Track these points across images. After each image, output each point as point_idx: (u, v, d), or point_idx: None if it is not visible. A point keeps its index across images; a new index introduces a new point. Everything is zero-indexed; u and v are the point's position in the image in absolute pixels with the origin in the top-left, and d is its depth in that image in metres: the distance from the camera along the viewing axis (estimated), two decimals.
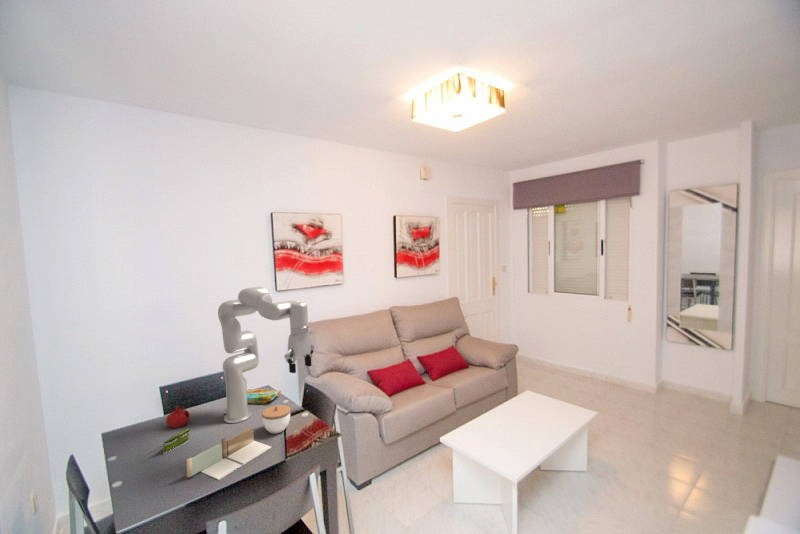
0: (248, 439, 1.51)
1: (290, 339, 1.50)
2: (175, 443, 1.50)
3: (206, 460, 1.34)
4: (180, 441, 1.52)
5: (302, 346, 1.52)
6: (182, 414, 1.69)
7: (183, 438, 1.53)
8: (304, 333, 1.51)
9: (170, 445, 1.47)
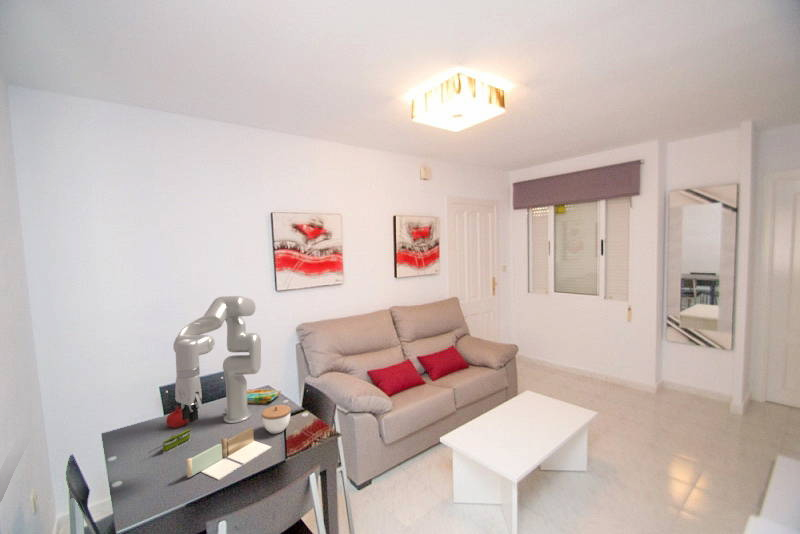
0: (248, 439, 1.51)
1: (193, 382, 1.31)
2: (175, 443, 1.50)
3: (206, 460, 1.34)
4: (180, 441, 1.52)
5: None
6: None
7: (183, 438, 1.53)
8: None
9: (170, 445, 1.48)
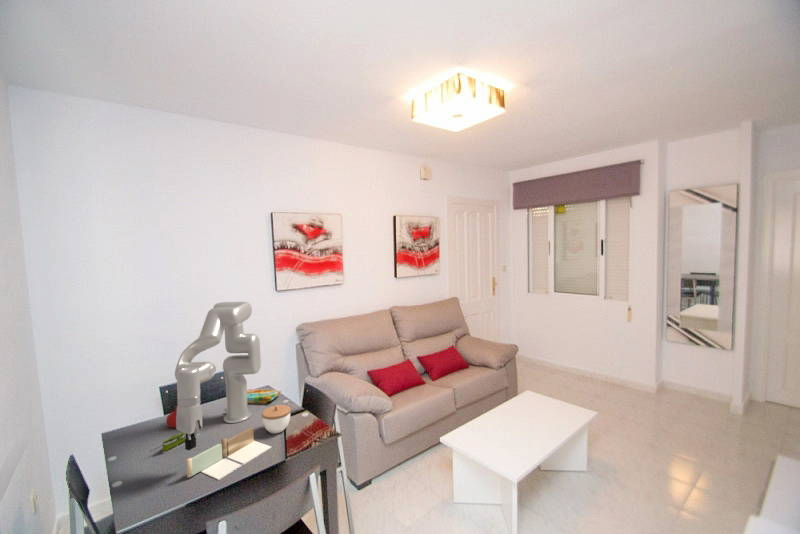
0: (248, 439, 1.51)
1: (194, 411, 1.31)
2: (175, 443, 1.50)
3: (206, 460, 1.34)
4: (180, 441, 1.52)
5: None
6: None
7: (184, 438, 1.53)
8: None
9: (170, 445, 1.48)
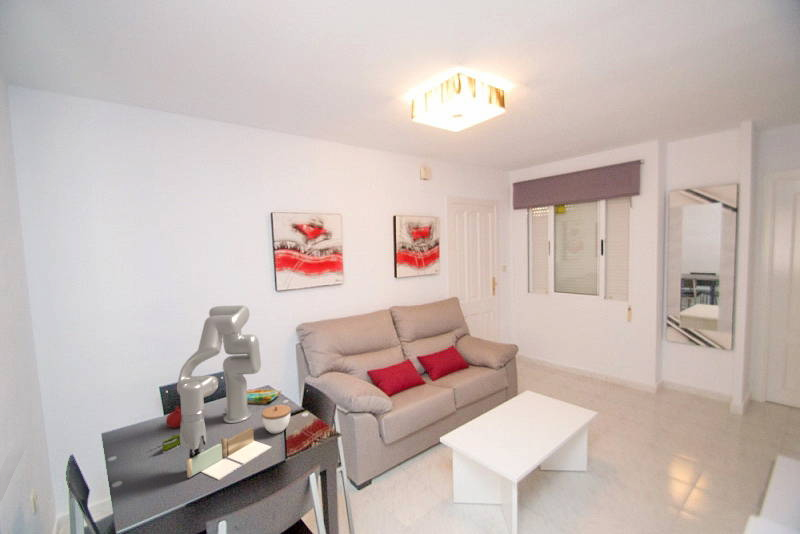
0: (248, 439, 1.51)
1: (198, 426, 1.31)
2: (175, 443, 1.50)
3: (206, 460, 1.34)
4: None
5: None
6: None
7: None
8: None
9: (169, 445, 1.48)
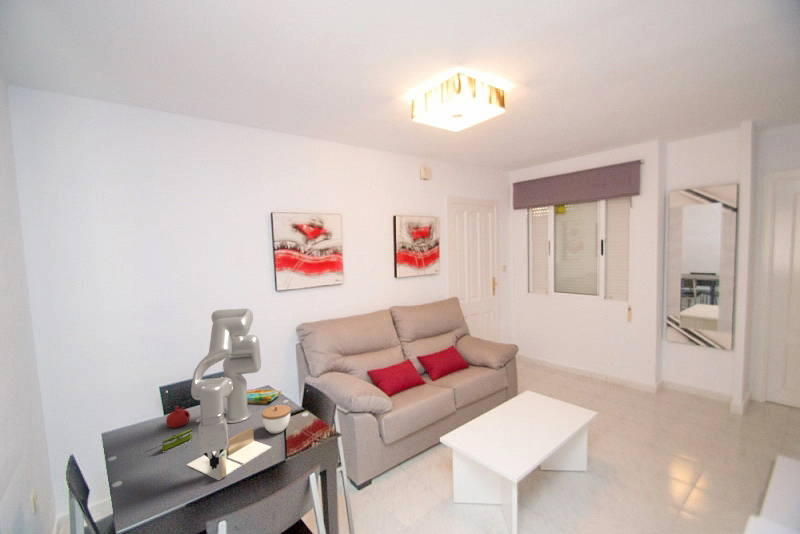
0: (248, 439, 1.51)
1: (226, 424, 1.32)
2: (175, 443, 1.50)
3: None
4: (181, 441, 1.52)
5: None
6: (182, 414, 1.69)
7: (184, 438, 1.53)
8: None
9: (169, 444, 1.48)
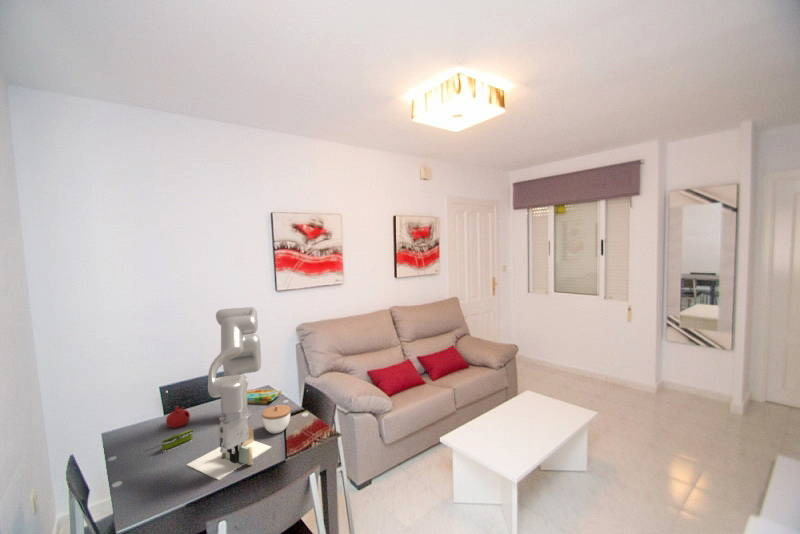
0: (248, 439, 1.51)
1: None
2: (175, 443, 1.50)
3: None
4: (181, 441, 1.52)
5: None
6: (182, 414, 1.69)
7: (184, 438, 1.53)
8: None
9: (169, 444, 1.48)
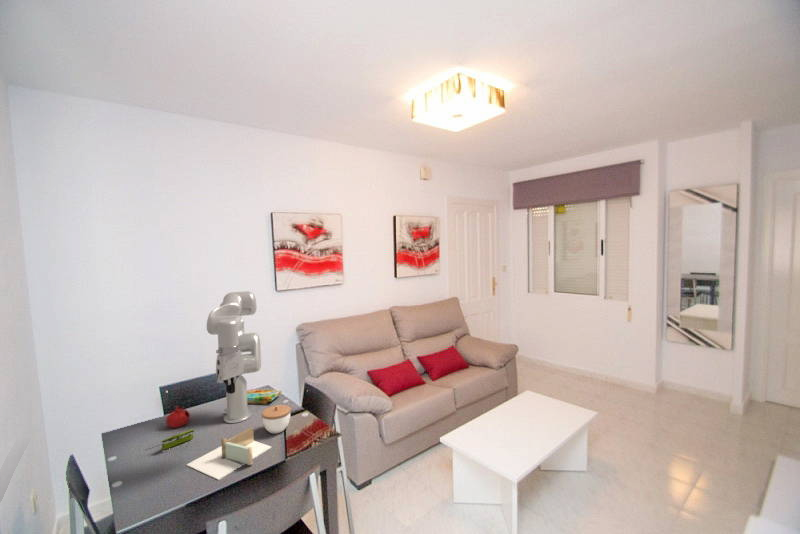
0: (248, 439, 1.51)
1: None
2: (175, 442, 1.50)
3: None
4: (181, 441, 1.52)
5: None
6: (182, 414, 1.69)
7: (185, 438, 1.53)
8: None
9: (169, 444, 1.48)
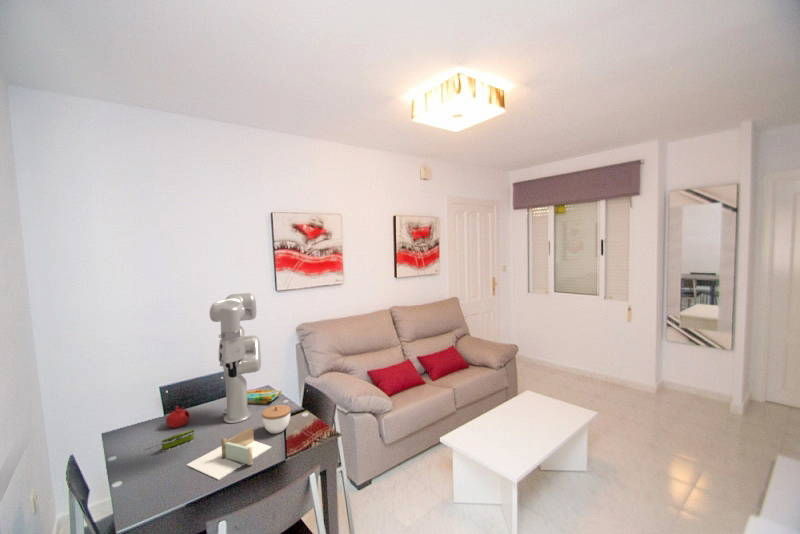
0: (248, 439, 1.51)
1: None
2: (175, 442, 1.50)
3: None
4: (181, 441, 1.52)
5: None
6: (182, 414, 1.69)
7: (185, 438, 1.53)
8: None
9: (169, 444, 1.48)
